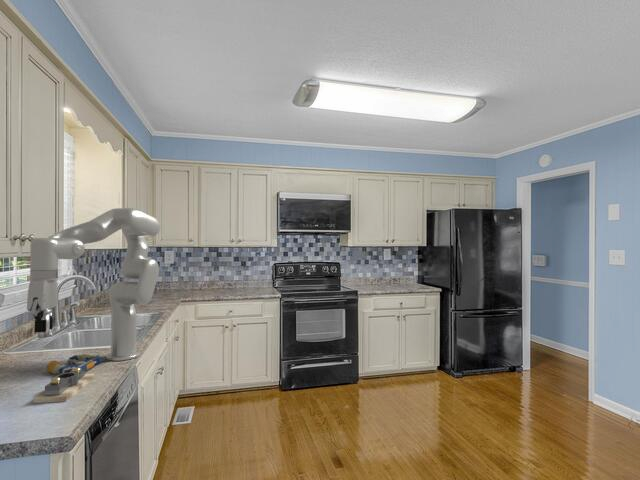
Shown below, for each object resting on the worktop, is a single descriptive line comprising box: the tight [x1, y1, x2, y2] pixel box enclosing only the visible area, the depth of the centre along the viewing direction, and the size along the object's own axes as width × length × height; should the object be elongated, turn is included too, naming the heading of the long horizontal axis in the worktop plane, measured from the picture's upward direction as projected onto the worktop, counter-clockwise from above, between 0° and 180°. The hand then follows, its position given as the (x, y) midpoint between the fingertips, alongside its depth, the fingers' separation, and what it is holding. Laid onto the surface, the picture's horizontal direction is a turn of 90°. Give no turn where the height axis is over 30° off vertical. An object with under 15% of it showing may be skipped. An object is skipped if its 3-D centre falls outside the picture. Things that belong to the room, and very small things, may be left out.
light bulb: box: [37, 309, 52, 339], centre depth 124 cm, size 4×4×9 cm
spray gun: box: [46, 353, 104, 376], centre depth 142 cm, size 21×4×15 cm
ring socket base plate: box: [33, 367, 95, 404], centre depth 122 cm, size 20×9×6 cm, turn 11°
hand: (43, 330), depth 124 cm, fingers closed on light bulb, 3 cm apart
